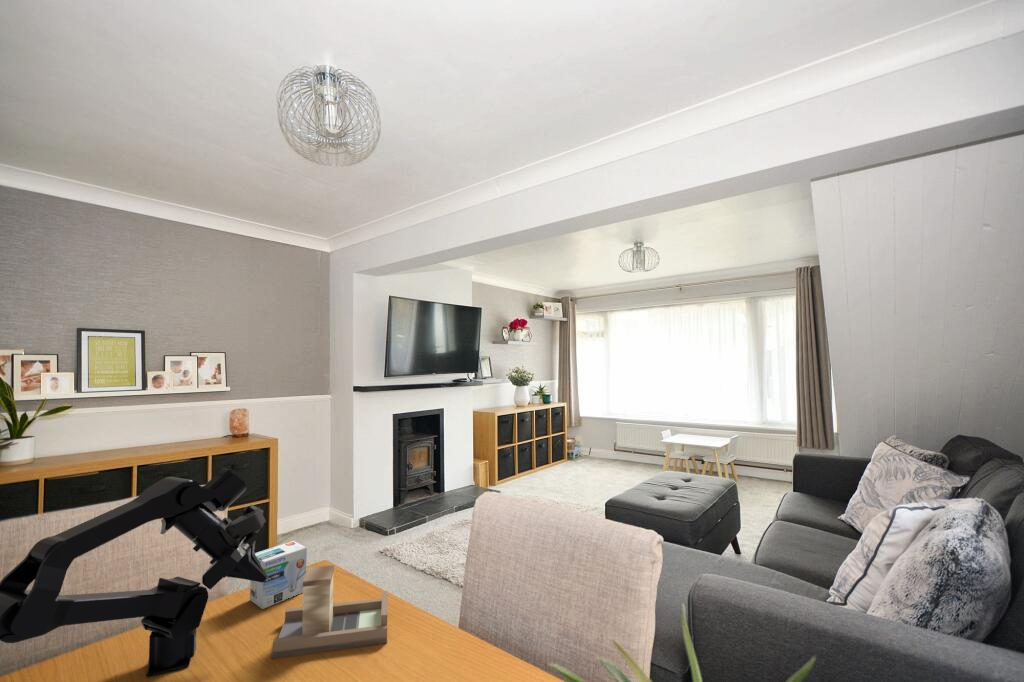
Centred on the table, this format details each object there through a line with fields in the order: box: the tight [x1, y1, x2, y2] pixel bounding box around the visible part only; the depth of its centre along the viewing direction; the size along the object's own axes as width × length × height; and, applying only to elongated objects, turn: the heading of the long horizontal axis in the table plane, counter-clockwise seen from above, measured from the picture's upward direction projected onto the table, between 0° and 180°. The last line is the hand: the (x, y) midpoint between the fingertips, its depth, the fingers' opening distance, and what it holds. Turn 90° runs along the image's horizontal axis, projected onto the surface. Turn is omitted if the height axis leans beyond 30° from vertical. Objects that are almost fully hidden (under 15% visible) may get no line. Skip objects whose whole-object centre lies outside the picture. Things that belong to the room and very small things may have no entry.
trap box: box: [272, 590, 389, 659], centre depth 98 cm, size 21×12×5 cm, turn 104°
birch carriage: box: [302, 565, 335, 635], centre depth 97 cm, size 5×6×11 cm
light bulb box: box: [249, 540, 308, 610], centre depth 113 cm, size 11×7×11 cm, turn 143°
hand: (265, 579), depth 95 cm, fingers closed
